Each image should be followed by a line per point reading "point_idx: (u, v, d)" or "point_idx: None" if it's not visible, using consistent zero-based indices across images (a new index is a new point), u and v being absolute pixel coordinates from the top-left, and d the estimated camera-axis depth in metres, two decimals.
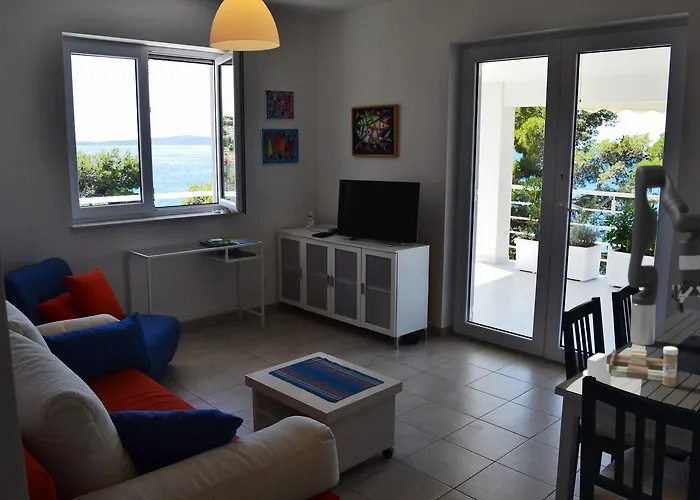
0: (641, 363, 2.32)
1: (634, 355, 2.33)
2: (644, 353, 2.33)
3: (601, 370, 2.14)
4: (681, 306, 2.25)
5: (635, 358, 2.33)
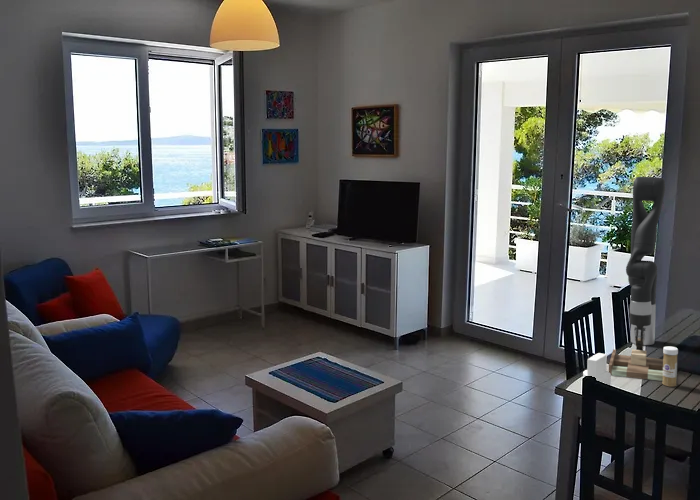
0: (641, 363, 2.32)
1: (634, 355, 2.33)
2: (644, 353, 2.33)
3: (601, 370, 2.14)
4: None
5: (635, 358, 2.33)
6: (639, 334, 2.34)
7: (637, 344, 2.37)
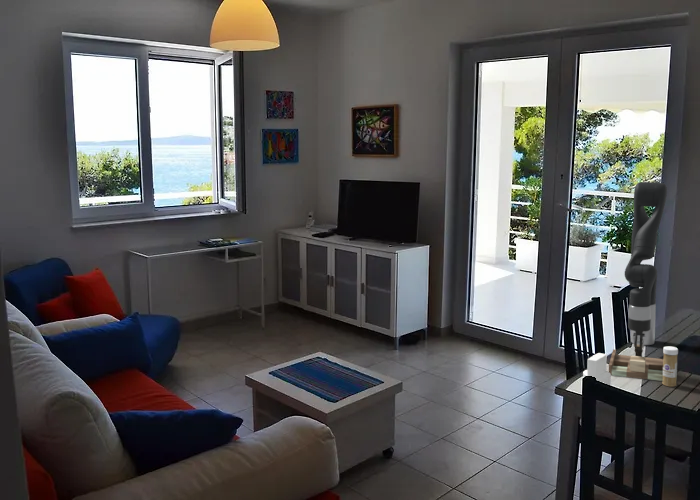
0: (640, 370, 2.25)
1: (633, 362, 2.26)
2: (643, 360, 2.26)
3: (601, 370, 2.14)
4: None
5: (633, 365, 2.26)
6: (638, 340, 2.27)
7: (636, 350, 2.30)
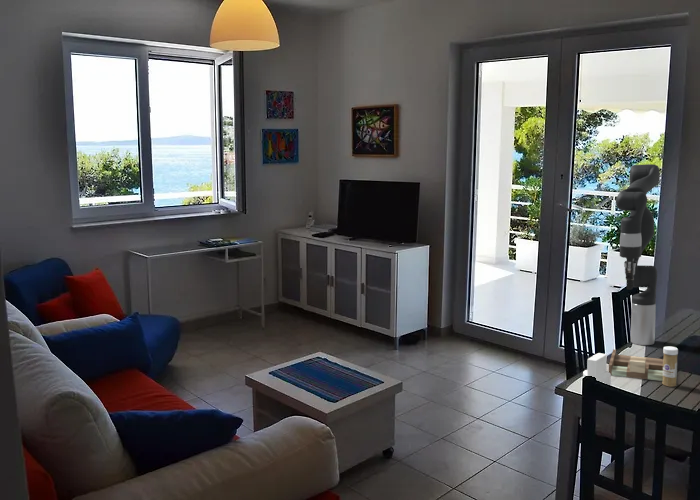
0: (640, 370, 2.25)
1: (633, 362, 2.25)
2: (643, 360, 2.25)
3: (601, 370, 2.14)
4: None
5: (633, 365, 2.25)
6: (629, 266, 2.32)
7: (627, 277, 2.35)
